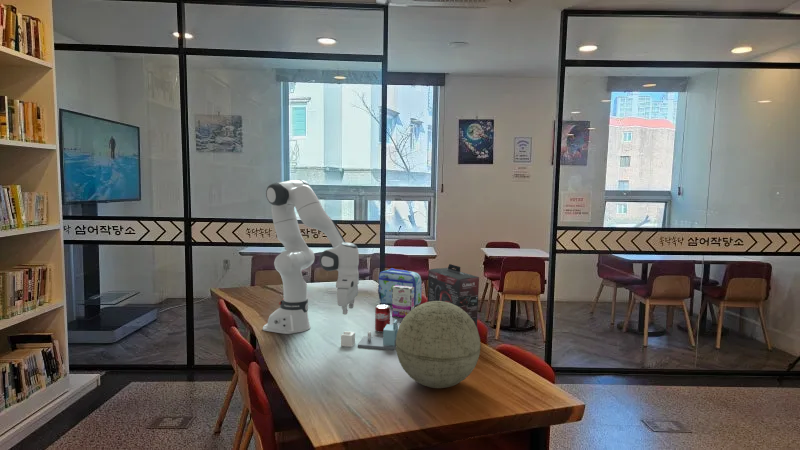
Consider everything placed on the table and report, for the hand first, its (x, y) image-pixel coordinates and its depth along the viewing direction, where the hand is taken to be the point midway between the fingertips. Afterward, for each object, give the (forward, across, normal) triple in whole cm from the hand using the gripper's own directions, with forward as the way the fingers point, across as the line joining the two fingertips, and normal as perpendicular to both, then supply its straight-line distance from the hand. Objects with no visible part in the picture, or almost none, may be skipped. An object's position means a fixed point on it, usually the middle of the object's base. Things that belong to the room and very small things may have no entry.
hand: (348, 311), depth 202 cm
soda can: (+15, -22, +11) cm, 29 cm away
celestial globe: (+15, +32, +42) cm, 55 cm away
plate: (+15, -3, +13) cm, 20 cm away
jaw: (+15, 0, 0) cm, 15 cm away
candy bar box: (+15, -47, +17) cm, 52 cm away
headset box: (+15, -25, +44) cm, 53 cm away
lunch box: (+15, -70, +11) cm, 73 cm away
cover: (+14, -3, +19) cm, 23 cm away
